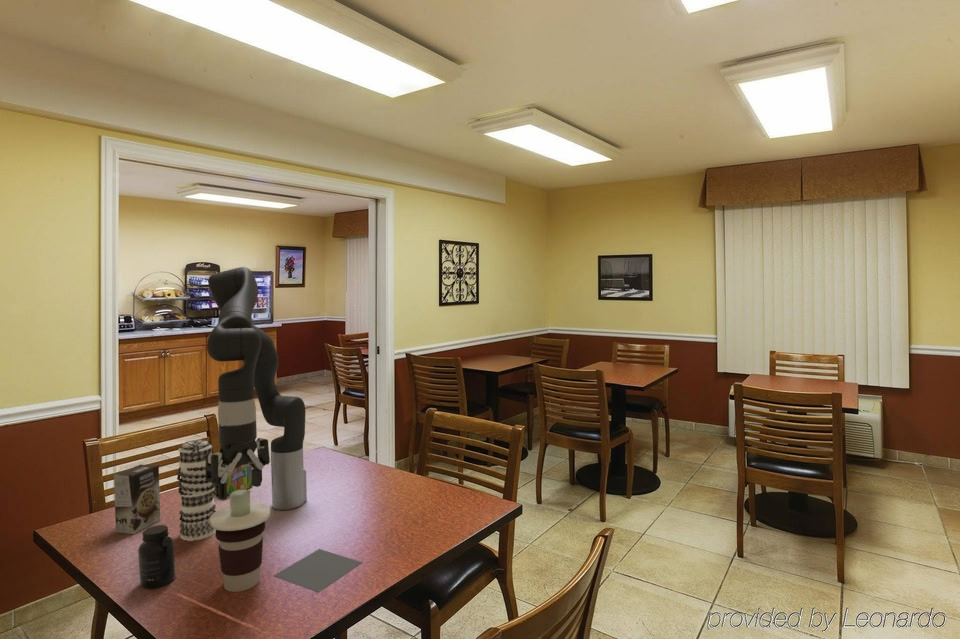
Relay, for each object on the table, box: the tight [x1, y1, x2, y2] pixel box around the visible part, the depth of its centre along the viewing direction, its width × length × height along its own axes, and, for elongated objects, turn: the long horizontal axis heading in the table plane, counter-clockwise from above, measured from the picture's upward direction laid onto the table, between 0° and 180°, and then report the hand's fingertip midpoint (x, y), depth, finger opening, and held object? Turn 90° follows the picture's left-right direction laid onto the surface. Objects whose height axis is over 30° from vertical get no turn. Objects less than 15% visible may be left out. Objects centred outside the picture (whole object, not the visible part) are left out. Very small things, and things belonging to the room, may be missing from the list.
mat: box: [273, 548, 364, 593], centre depth 121 cm, size 14×14×1 cm
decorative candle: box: [176, 439, 217, 542], centre depth 140 cm, size 9×9×25 cm
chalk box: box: [212, 458, 254, 497], centre depth 172 cm, size 9×9×15 cm
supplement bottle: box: [137, 524, 176, 590], centre depth 117 cm, size 7×7×12 cm
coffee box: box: [113, 464, 161, 535], centre depth 145 cm, size 9×6×16 cm
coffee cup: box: [215, 521, 266, 593], centre depth 116 cm, size 10×10×15 cm
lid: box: [210, 489, 271, 531], centre depth 115 cm, size 12×12×6 cm
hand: (239, 492), depth 115 cm, fingers open, 8 cm apart
